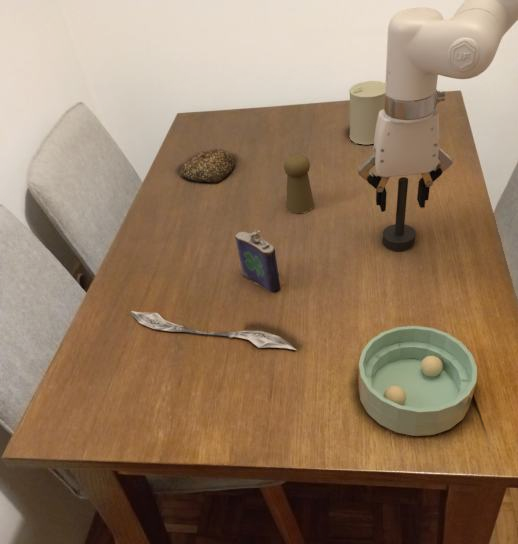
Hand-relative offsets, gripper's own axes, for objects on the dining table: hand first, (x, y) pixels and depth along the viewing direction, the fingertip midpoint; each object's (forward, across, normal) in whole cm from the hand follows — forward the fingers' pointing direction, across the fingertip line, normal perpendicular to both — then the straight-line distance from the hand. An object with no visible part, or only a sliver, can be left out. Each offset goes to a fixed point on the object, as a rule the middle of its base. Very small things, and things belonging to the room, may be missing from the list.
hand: (401, 204), depth 94 cm
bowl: (+8, +4, +36) cm, 37 cm away
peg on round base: (+8, 0, 0) cm, 8 cm away
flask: (+8, +26, +8) cm, 28 cm away
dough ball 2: (+6, +1, +33) cm, 34 cm away
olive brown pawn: (+8, +18, -16) cm, 25 cm away
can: (+8, 0, -44) cm, 45 cm away
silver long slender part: (+8, +35, +20) cm, 41 cm away
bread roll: (+8, +39, -36) cm, 54 cm away
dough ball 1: (+6, +7, +38) cm, 39 cm away
